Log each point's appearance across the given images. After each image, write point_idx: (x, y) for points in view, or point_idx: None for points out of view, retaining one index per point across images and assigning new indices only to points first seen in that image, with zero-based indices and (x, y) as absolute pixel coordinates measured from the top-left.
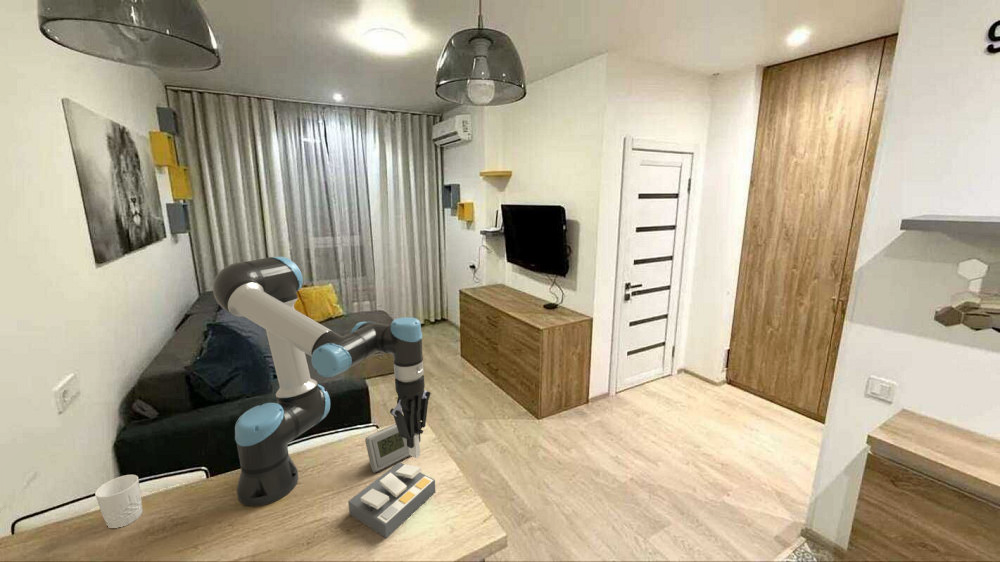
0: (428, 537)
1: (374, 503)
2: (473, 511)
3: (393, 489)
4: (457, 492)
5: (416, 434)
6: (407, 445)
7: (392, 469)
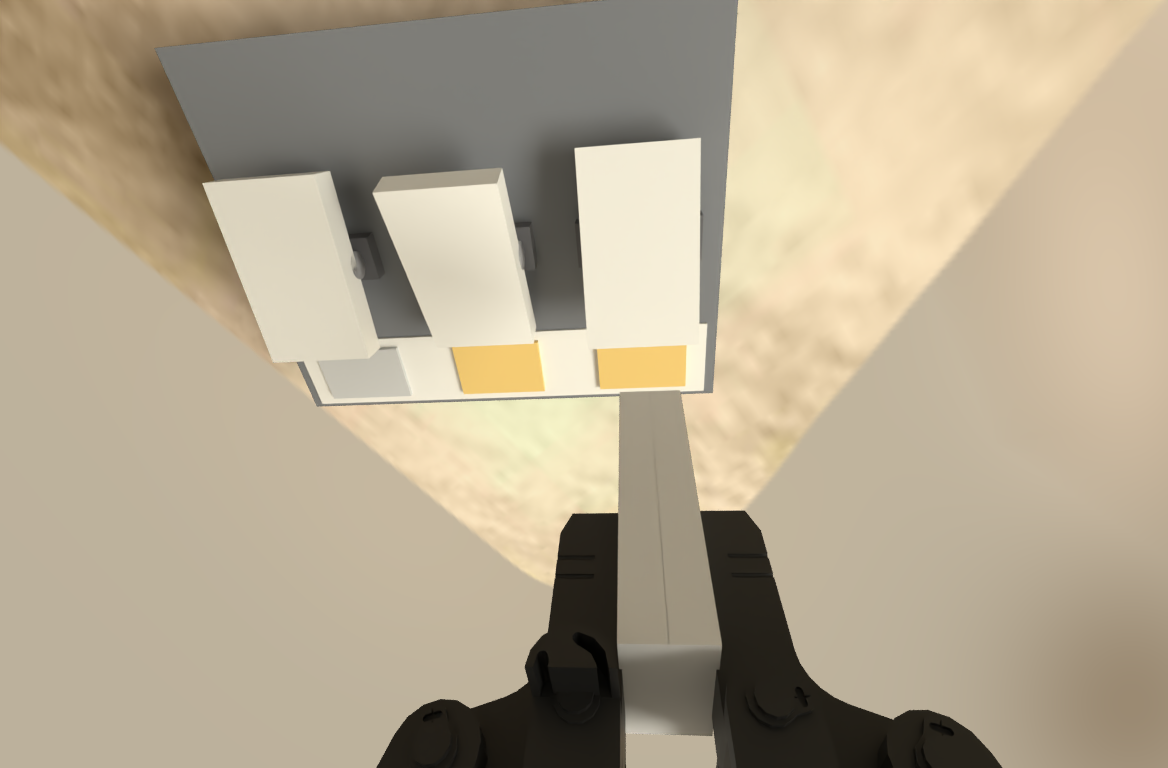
0: (490, 476)
1: (267, 330)
2: None
3: (438, 312)
4: (757, 429)
5: (688, 722)
6: (560, 544)
7: (619, 26)
